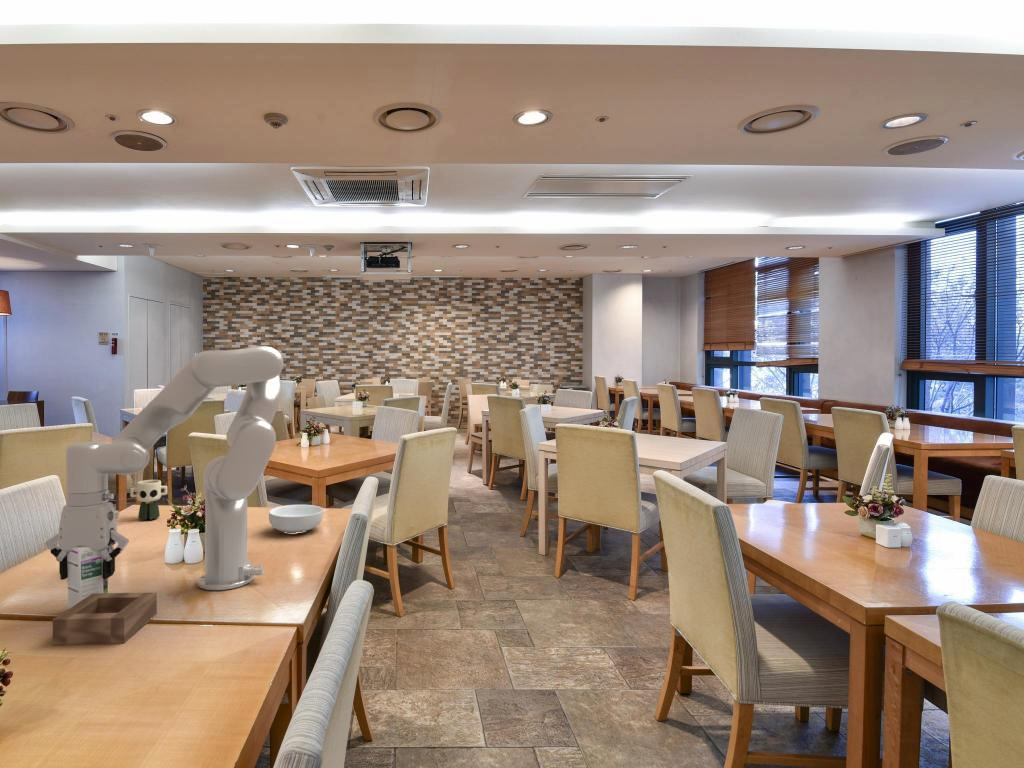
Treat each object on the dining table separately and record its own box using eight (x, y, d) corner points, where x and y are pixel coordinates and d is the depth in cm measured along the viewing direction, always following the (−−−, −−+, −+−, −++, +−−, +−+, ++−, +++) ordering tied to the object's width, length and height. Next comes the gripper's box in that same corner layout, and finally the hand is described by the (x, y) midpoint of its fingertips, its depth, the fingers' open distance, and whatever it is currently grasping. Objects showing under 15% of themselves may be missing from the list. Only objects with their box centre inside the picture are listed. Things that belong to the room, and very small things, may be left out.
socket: (156, 615, 129) (156, 592, 129) (124, 643, 116) (124, 617, 116) (92, 616, 128) (92, 593, 127) (52, 645, 115) (52, 619, 114)
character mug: (129, 523, 199) (129, 484, 199) (131, 518, 205) (131, 480, 205) (166, 520, 204) (166, 482, 203) (168, 515, 210) (168, 478, 210)
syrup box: (79, 616, 128) (79, 549, 127) (66, 609, 131) (66, 544, 130) (108, 607, 133) (108, 542, 132) (95, 601, 136) (95, 538, 135)
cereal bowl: (312, 539, 186) (312, 517, 186) (259, 538, 186) (259, 515, 186) (329, 524, 203) (330, 504, 203) (281, 523, 203) (281, 503, 203)
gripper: (138, 494, 135) (138, 570, 136) (56, 494, 134) (56, 571, 134) (120, 502, 128) (120, 582, 129) (32, 502, 126) (33, 584, 127)
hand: (87, 576), depth 131 cm, fingers closed on syrup box, 8 cm apart
